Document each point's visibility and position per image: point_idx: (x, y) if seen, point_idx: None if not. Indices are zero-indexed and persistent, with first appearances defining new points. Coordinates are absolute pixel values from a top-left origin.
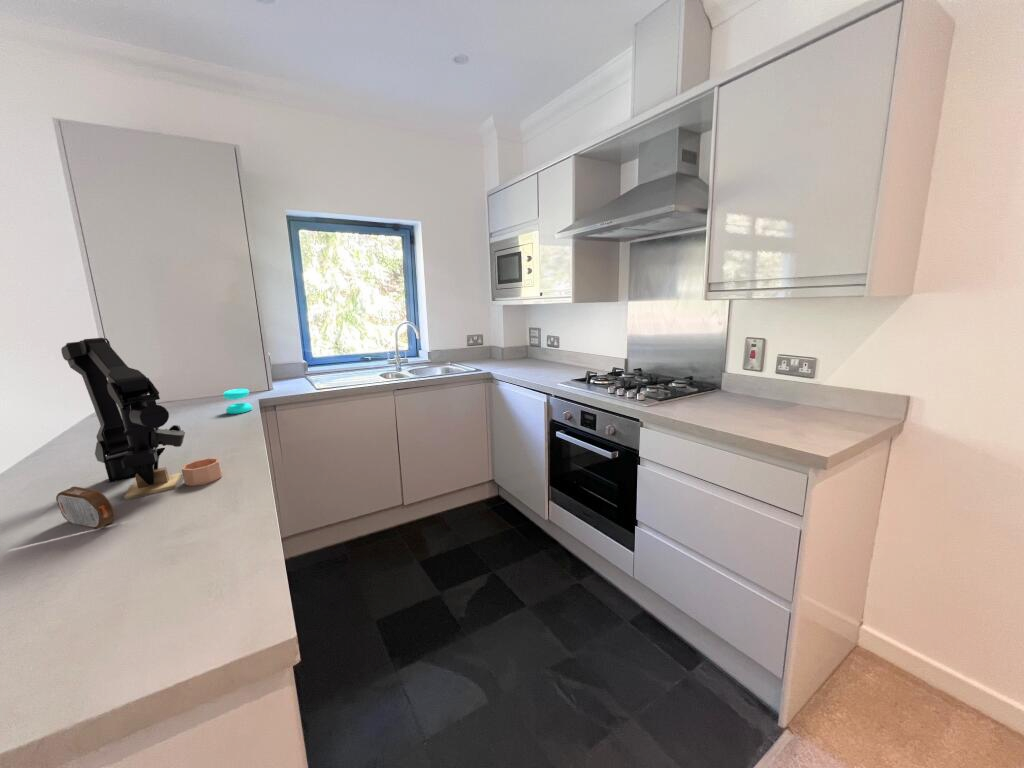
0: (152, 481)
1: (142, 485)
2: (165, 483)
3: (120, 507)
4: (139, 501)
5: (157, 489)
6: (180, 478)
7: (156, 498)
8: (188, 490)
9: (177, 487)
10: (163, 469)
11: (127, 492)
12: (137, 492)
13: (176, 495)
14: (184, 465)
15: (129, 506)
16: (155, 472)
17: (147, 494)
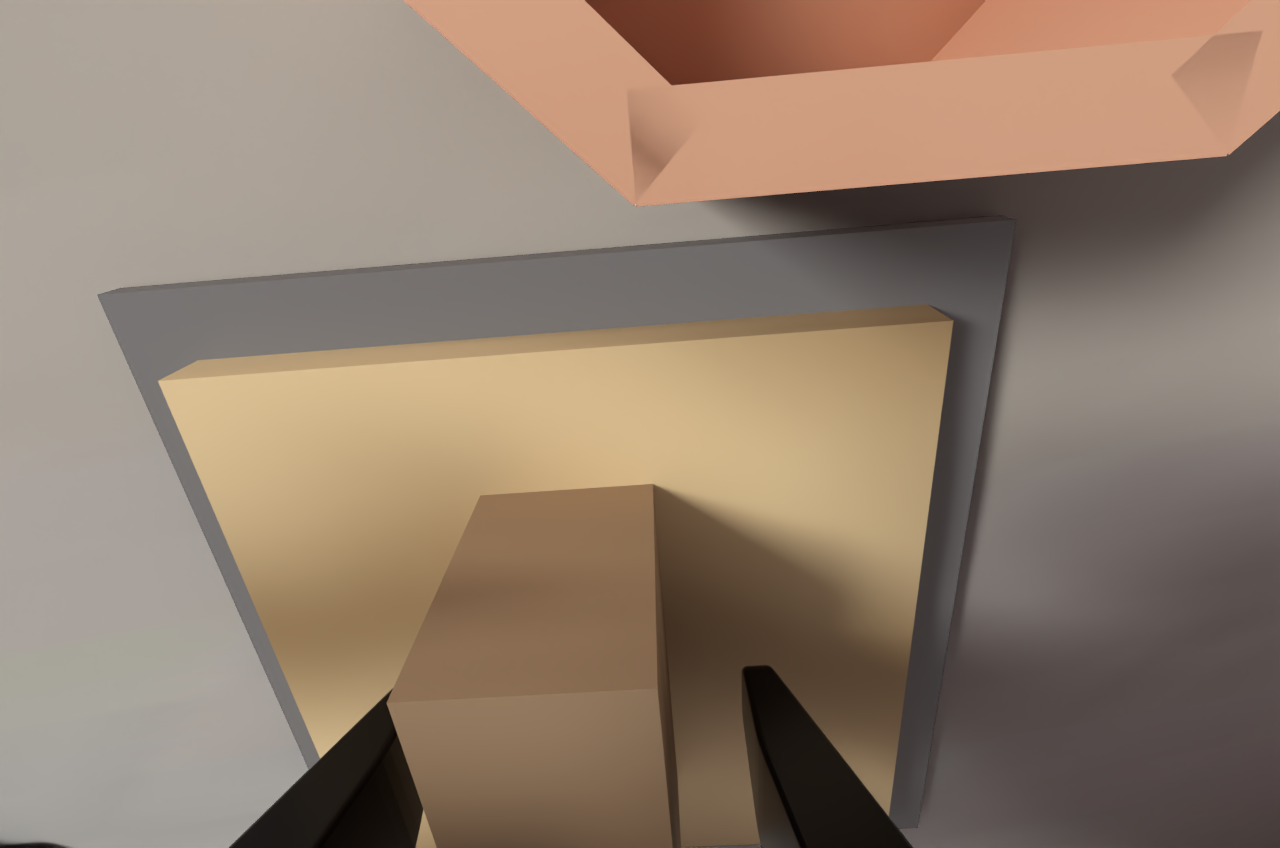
0: (797, 709)
1: (675, 771)
2: (701, 503)
3: (1063, 772)
4: (1030, 654)
5: (915, 555)
6: (378, 332)
7: (1110, 493)
8: None
9: (918, 276)
10: (588, 718)
11: (752, 840)
12: (849, 753)
13: (1276, 219)
14: (630, 159)
15: (1124, 708)
16: (670, 810)
17: None
